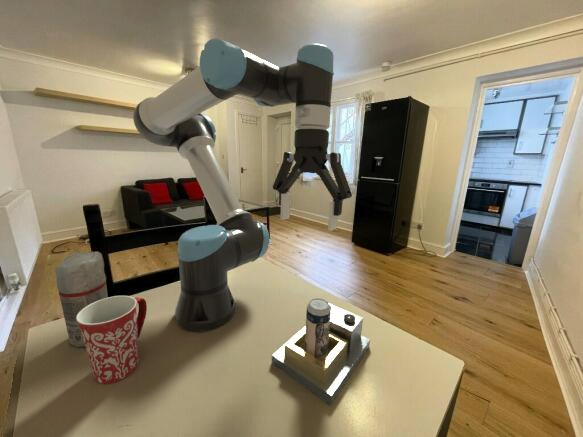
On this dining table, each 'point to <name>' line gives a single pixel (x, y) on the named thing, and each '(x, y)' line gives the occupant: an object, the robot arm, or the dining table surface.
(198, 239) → the robot arm
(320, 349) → the beer can
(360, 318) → the grey socket fixture
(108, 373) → the mug
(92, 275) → the spray can
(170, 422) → the dining table surface
